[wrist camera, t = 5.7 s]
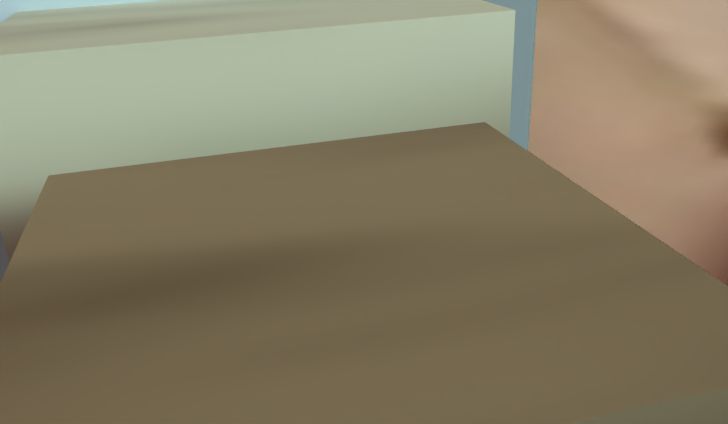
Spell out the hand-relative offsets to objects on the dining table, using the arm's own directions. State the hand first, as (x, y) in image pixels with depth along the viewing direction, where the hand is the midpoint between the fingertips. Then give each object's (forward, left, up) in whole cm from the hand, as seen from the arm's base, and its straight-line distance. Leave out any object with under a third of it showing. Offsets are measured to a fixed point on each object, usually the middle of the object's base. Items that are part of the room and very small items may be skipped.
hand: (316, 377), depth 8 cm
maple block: (0, 0, -6) cm, 6 cm away
